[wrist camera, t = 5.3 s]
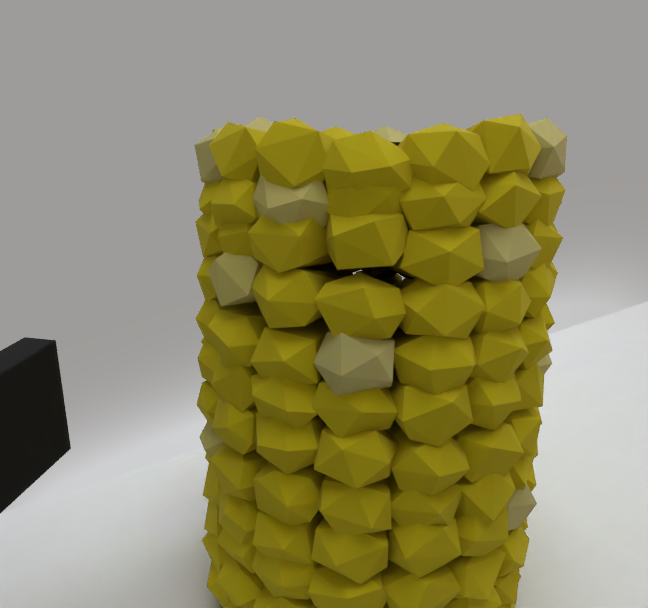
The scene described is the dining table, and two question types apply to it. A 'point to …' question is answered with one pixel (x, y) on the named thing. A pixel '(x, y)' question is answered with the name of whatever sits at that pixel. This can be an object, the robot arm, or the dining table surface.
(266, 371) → the food
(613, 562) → the dining table surface
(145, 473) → the dining table surface
